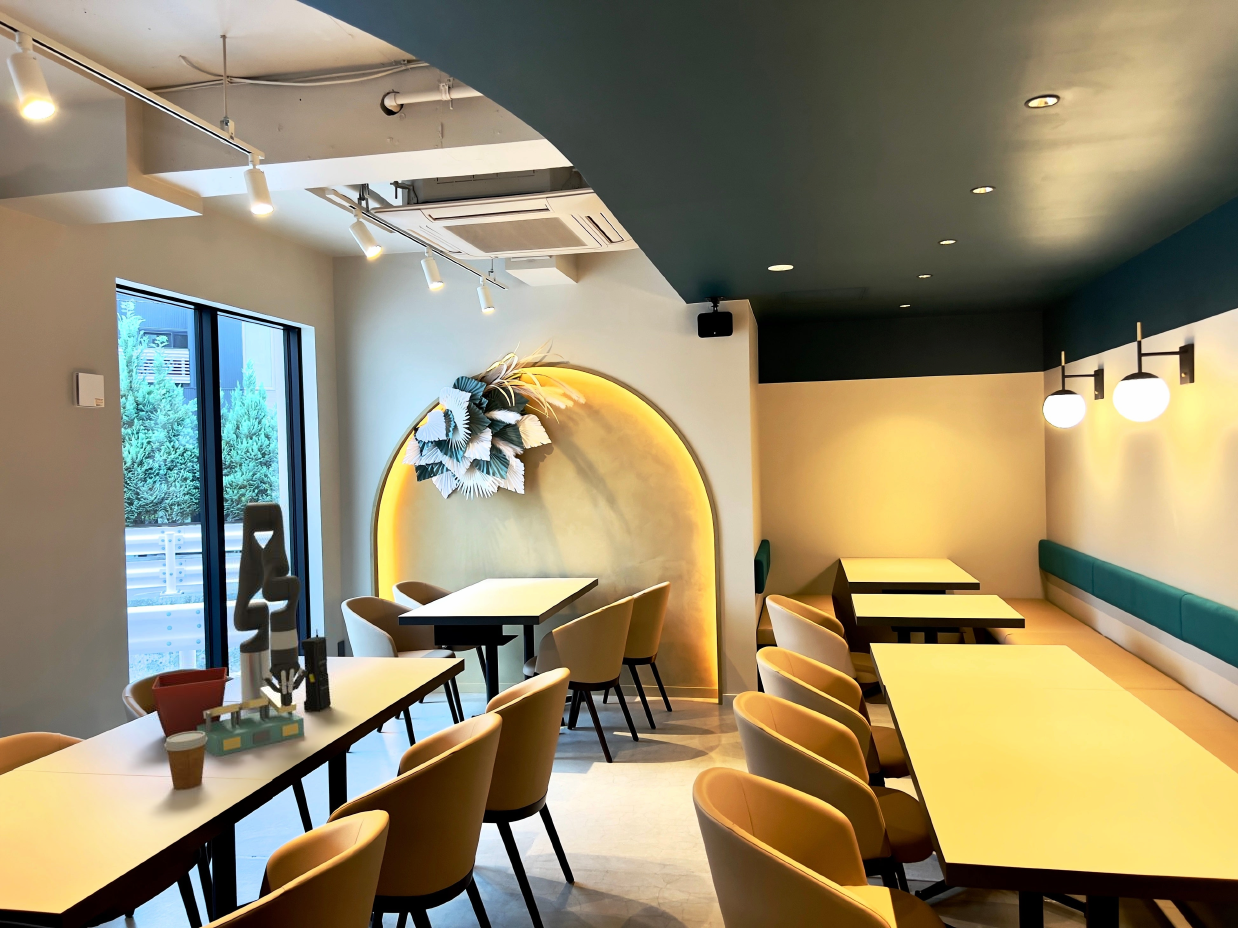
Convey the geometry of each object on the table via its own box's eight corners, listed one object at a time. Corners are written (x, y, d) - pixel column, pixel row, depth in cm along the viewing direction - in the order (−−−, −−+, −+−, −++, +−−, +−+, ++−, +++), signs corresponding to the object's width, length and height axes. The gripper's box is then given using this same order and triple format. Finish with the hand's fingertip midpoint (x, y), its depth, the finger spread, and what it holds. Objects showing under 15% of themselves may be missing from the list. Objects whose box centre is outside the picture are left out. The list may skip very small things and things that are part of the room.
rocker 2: (233, 712, 250) (232, 705, 250) (250, 708, 253) (250, 701, 253) (249, 707, 239) (249, 700, 239) (268, 704, 242) (267, 696, 243)
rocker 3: (260, 694, 255) (260, 687, 255) (277, 690, 259) (277, 684, 258) (278, 713, 245) (279, 707, 244) (296, 710, 248) (296, 703, 248)
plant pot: (160, 729, 259) (158, 674, 259) (229, 720, 267) (227, 666, 267) (153, 747, 242) (151, 688, 242) (227, 736, 249) (225, 679, 249)
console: (197, 742, 244) (196, 707, 244) (282, 723, 260) (280, 690, 261) (217, 756, 231) (215, 718, 232) (304, 735, 248) (303, 700, 248)
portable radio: (318, 712, 271) (315, 633, 271) (301, 712, 272) (298, 633, 272) (332, 705, 279) (329, 629, 279) (315, 705, 280) (312, 629, 280)
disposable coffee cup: (176, 779, 215) (174, 731, 215) (215, 776, 216) (213, 729, 216) (158, 793, 206) (157, 743, 206) (200, 790, 206) (198, 740, 206)
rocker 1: (203, 718, 244) (203, 711, 245) (222, 714, 248) (221, 707, 248) (219, 714, 234) (218, 706, 234) (238, 710, 237) (237, 702, 237)
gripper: (301, 640, 254) (304, 698, 254) (255, 648, 245) (258, 708, 245) (311, 643, 249) (314, 703, 248) (265, 651, 240) (268, 713, 239)
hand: (286, 705), depth 247 cm, fingers closed
